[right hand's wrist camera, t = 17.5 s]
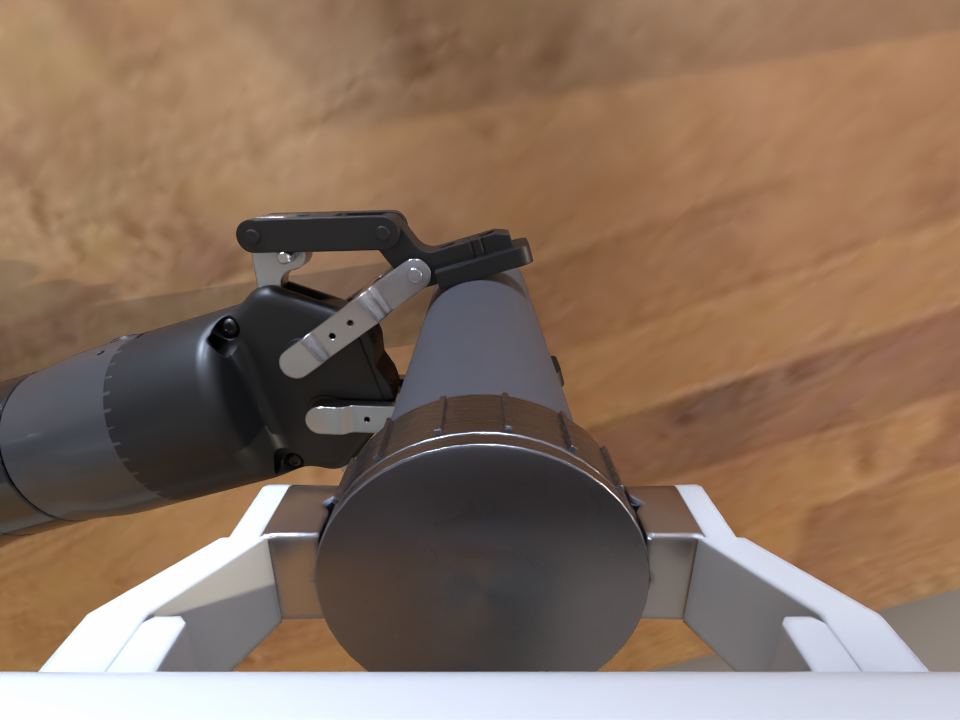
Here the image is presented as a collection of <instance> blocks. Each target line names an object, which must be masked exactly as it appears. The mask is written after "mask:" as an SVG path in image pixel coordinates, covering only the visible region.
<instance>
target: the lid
mask: <svg viewBox="0 0 960 720" xmlns="http://www.w3.org/2000/svg"><path fill="white" fill-rule="evenodd" d="M623 490H625V489H624V487H623V484H622V482H621V480H620V477H619V475H618V473H617V470H616V468H615V466H614V464H613V461H612V459H611V457H610V454H609V452H608V450H607V448H606V447H605V446H603V447H600V446H599V445H598V443H597V442H596V441H595V440H594V439H593V438H592V437H591V436H590V435H589V434H588V433H587V432H586V431H585V430H584V429H582V428H581V427H580V426H578V425H577V424H575V423H574V422H573V421H571V420H570V419H569V418H567V415H566V413H565V412H564V411H562V410H561V411H560V412H559V413H558V412H556V411H554V410H552V409H550V408H547V407H545V406H542V405H540V404H537V403H535V402H532V401H528V400H524V399H520V398H516V397H510V396H509V395H508V393H505V392H502V395H495V394H471V395H462V396H453V397H449V398H446V395H443V396H440V399H439V400H436V401H433V402H430V403H428V404H425V405H422V406H419V407H417V408H414V409H412V410H411V411H409V412H407V413H405V414H403V415H401V416H399V417H397V418H396V419H395V420H393V421H392V420H391V419H390V418H389V419H388V420H387V421H386V422H385V425H384V427H383V428H382V429H381V430H380V431H379V432H378V433H377V434H376V435H375V436H374V437H372V438H371V439H370V440H369V442H368V443H367V444H366V445H365V447H364V448H363V449H362V450H361V452H360V453H359V454H358V456H357V458H356V459H355V458H353V457H352V458H351V459H350V461H349V463H348V466H347V468H346V470H345V473H344V475H343V477H342V480H341V482H340V484H339V487H338V489H337V491H336V494H335V496H334V498H333V501H332V503H334V504H335V507H334V509H333V512H332V514H331V516H330V519H329V521H328V524H327V526H326V528H325V531H324V534H323V536H322V539H321V541H320V544H319V548H318V553H317V557H316V564H315V583H316V591H317V598H318V601H319V604H320V608H321V611H322V614H323V616H324V618H325V620H326V622H327V625H328V627H329V629H330V630H331V632H332V633H333V635H334V636H335V638H336V639H337V641H338V642H339V644H340V645H341V646H342V647H343V648H344V649H345V650H346V652H347V653H348V654H349V655H350V656H351V657H352V658H353V659H354V660H355V661H357V662H358V663H359V664H360V665H361V666H362V667H363V668H365V669H366V670H368V671H369V672H596V671H597V670H598V669H600V668H601V667H602V666H603V665H604V664H606V663H607V662H608V661H609V660H611V659H612V658H613V656H614V655H615V654H616V653H617V652H618V651H619V650H620V649H621V648H622V647H623V646H624V644H625V643H626V642H627V640H628V639H629V637H630V636H631V635H632V633H633V632H634V630H635V628H636V626H637V624H638V622H639V620H640V618H641V616H642V613H643V610H644V607H645V604H646V601H647V596H648V590H649V584H650V564H649V558H648V552H647V547H646V544H645V541H644V539H643V534H642V532H641V529H640V527H639V525H638V523H637V520H636V513H635V511H634V508H633V506H632V504H630V503H629V502H628V499H627V497H626V495H625V492H624V491H623Z"/></svg>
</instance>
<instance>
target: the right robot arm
mask: <svg viewBox="0 0 960 720" xmlns="http://www.w3.org/2000/svg"><path fill="white" fill-rule="evenodd" d="M338 487H339V486H324V485H267V486H264V487H263V488H262V489H261V490H260V492H259V493H258V495H257V496H256V498H255V499H254V501H253V502H252V504H251V505H250V507H249V508H248V510H247V511H246V513H245V514H244V516H243V517H242V519H241V520H240V522H239V523H238V525H237V526H236V528H235V529H234V531H233V532H232V534H231V535H230V537H229V538H220V539H218V540H216V541H215V542H213V543H211V544H209V545H208V546H206V547H204V548H202V549H201V550H199V551H197V552H195V553H194V554H192V555H190V556H188V557H187V558H185V559H183V560H181V561H180V562H178V563H176V564H174V565H173V566H171V567H169V568H167V569H166V570H164V571H162V572H160V573H159V574H157V575H155V576H153V577H152V578H150V579H148V580H147V581H145V582H143V583H141V584H140V585H138V586H136V587H134V588H133V589H131V590H129V591H127V592H126V593H124V594H122V595H120V596H119V597H117V598H115V599H113V600H112V601H110V602H108V603H106V604H105V605H103V606H101V607H99V608H98V609H96V610H94V611H92V612H91V613H89V614H87V616H86V617H85V618H84V619H83V620H82V621H81V623H80V624H79V625H78V626H77V627H76V628H75V630H74V631H73V632H72V633H71V634H70V635H69V636H68V638H67V639H66V640H65V641H64V642H63V643H62V645H61V646H60V647H59V648H58V649H57V650H56V651H55V653H54V654H53V655H52V656H51V657H50V658H49V660H48V661H47V662H46V663H45V664H44V665H43V667H42V668H41V669H40V670H39V671H38V672H0V720H960V672H930V671H929V670H928V669H927V668H926V667H925V666H924V665H923V663H922V662H921V661H920V660H919V659H918V658H917V657H916V655H915V654H914V653H913V652H912V651H911V650H910V649H909V647H908V646H907V645H906V644H905V643H904V642H903V640H902V639H901V638H900V637H899V636H898V635H897V634H896V633H895V631H894V630H893V629H892V628H891V627H890V626H889V625H888V623H887V622H886V621H885V620H884V619H883V618H882V616H881V615H879V614H878V613H876V612H874V611H872V610H871V609H869V608H867V607H865V606H863V605H862V604H860V603H858V602H856V601H855V600H853V599H851V598H849V597H848V596H846V595H844V594H842V593H841V592H839V591H837V590H835V589H834V588H832V587H830V586H828V585H827V584H825V583H823V582H821V581H820V580H818V579H816V578H814V577H813V576H811V575H809V574H807V573H806V572H804V571H802V570H800V569H799V568H797V567H795V566H793V565H792V564H790V563H788V562H786V561H784V560H783V559H781V558H779V557H777V556H776V555H774V554H772V553H770V552H769V551H767V550H765V549H763V548H762V547H760V546H758V545H756V544H755V543H753V542H751V541H749V540H748V539H746V538H736V536H735V535H734V533H733V532H732V530H731V529H730V527H729V526H728V524H727V523H726V522H725V520H724V519H723V517H722V516H721V514H720V513H719V511H718V510H717V508H716V507H715V506H714V504H713V503H712V501H711V500H710V498H709V497H708V495H707V494H706V493H705V491H704V490H703V488H702V487H701V486H699V485H697V484H694V485H672V486H625V487H624V489H625V490H623V491H624V492H625V495H626V497H627V499H628V502H629V503H630V504H632V506H633V508H634V511H635V513H636V520H637V523H638V525H639V527H640V529H641V532H642V534H643V539H644V541H645V544H646V547H647V552H648V558H649V564H650V584H649V590H648V596H647V601H646V604H645V607H644V610H643V613H642V616H641V618H649V619H684V620H683V622H684V623H685V624H686V625H687V626H688V627H689V628H690V629H691V630H692V631H693V632H695V633H696V634H697V635H698V636H699V637H700V638H701V639H702V640H703V641H704V642H705V643H706V644H707V645H708V646H709V647H710V648H711V649H712V650H713V651H714V652H715V653H716V654H718V655H719V656H720V657H721V658H722V659H723V660H724V661H725V662H726V663H727V664H728V665H729V666H730V667H731V668H732V669H733V670H734V671H735V672H231V671H232V670H233V669H234V668H235V667H236V666H237V665H238V664H239V663H240V662H241V661H242V660H243V659H244V658H245V657H246V656H247V655H248V654H249V653H250V652H251V651H252V650H253V649H255V648H256V647H257V646H258V645H259V644H260V643H261V642H262V641H263V640H264V639H265V638H266V637H267V636H268V635H269V634H270V633H271V632H272V631H273V630H274V629H275V628H276V627H277V626H278V625H279V624H280V623H282V619H315V618H324V616H323V614H322V611H321V608H320V604H319V601H318V598H317V591H316V583H315V564H316V557H317V553H318V548H319V544H320V541H321V539H322V536H323V534H324V531H325V528H326V526H327V524H328V521H329V519H330V516H331V514H332V512H333V509H334V507H335V504H334V503H332V501H333V498H334V496H335V494H336V491H337V489H338Z"/></svg>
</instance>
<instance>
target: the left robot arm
mask: <svg viewBox="0 0 960 720" xmlns="http://www.w3.org/2000/svg"><path fill="white" fill-rule="evenodd" d="M236 236H237V240H238V242H239V244H240V245H241V247H242V248H243V249H245V250H246V251H248V252H251V253H252V258H253V263H254V269H255V274H256V280H257V285H258V288H257V289H256V290H254V291H253V292H252V293H251V294H250V295H249V296H248V297H247V298H246V300H245V301H244V302H243V303H241V304H239V305H236V306H233V307H229V308H226V309H223V310H219V311H216V312H213V313H209V314H206V315H202V316H199V317H196V318H192V319H189V320H186V321H182V322H179V323H176V324H172V325H169V326H166V327H162V328H159V329H156V330H152V331H149V332H146V333H142V334H133V335H128V336H123V337H120V338H116V339H114V340H113V341H111V342H110V343H109V344H106V345H102V346H99V347H96V348H93V349H90V350H87V351H84V352H82V353H79V354H76V355H74V356H72V357H69V358H67V359H65V360H63V361H61V362H59V363H57V364H55V365H53V366H51V367H49V368H46V369H43V370H40V371H37V372H33V373H30V374H27V375H23V376H20V377H17V378H13V379H10V380H6V381H3V382H0V548H2V547H3V546H5V545H7V544H9V543H11V542H13V541H15V540H18V539H20V538H24V537H27V536H30V535H34V534H37V533H41V532H45V531H49V530H53V529H56V528H60V527H64V526H68V525H72V524H75V523H79V522H83V521H87V520H90V519H95V518H102V517H111V516H121V515H129V514H134V513H139V512H144V511H148V510H152V509H156V508H160V507H163V506H167V505H171V504H175V503H179V502H182V501H186V500H190V499H194V498H198V497H202V496H206V495H209V494H213V493H217V492H221V491H225V490H229V489H233V488H237V487H240V486H244V485H248V484H252V483H256V482H260V481H263V480H267V479H271V478H275V477H278V476H281V475H283V474H286V473H288V472H291V471H293V470H295V469H298V468H301V467H305V466H318V467H324V468H329V469H336V468H341V470H342V471H343V472H344V473H345V470H346V468H347V466H348V463H349V461H350V459H351V458H352V457H353V458H355V459H356V458H357V456H358V454H359V453H360V452H361V450H362V449H363V447H364V446H365V445H366V444H367V442H368V441H369V440H370V438H371V437H372V436H373V435H374V433H378V432H379V431H380V430H381V429H382V428H383V427H384V425H385V422H386V421H387V420H388V419H389V418H390V419H391V417H392V414H393V411H394V408H395V405H396V402H397V399H398V396H399V393H400V390H401V387H402V385H403V382H404V379H405V376H406V375H399V374H398V372H397V369H396V366H395V364H394V363H393V361H392V360H391V358H390V357H389V356H388V354H387V353H386V351H385V350H384V343H383V332H382V329H381V327H380V324H379V322H380V321H381V320H382V319H384V318H385V317H386V316H387V315H388V314H389V313H390V312H391V311H393V310H394V309H395V308H397V307H398V306H400V305H401V304H402V303H404V302H405V301H407V300H408V299H409V298H411V297H412V296H414V295H415V294H416V293H418V292H419V291H421V290H422V289H423V288H425V287H428V286H431V285H435V284H438V285H439V288H440V290H442V289H445V288H449V287H452V286H455V285H459V284H462V283H465V282H469V281H473V280H476V279H479V278H483V277H486V276H490V275H493V274H497V273H500V272H503V271H507V270H510V269H514V268H517V267H521V266H524V265H527V264H529V263H531V262H532V261H533V258H532V254H531V250H530V246H529V243H528V241H527V239H526V238H519V239H515V240H511V237H510V234H509V231H508V230H503V229H492V230H489V231H485V232H482V233H479V234H475V235H472V236H469V237H465V238H462V239H459V240H455V241H452V242H449V243H445V244H442V245H438V246H429V245H426V244H424V243H422V242H421V241H420V240H419V239H418V238H417V237H416V235H415V234H414V233H413V232H412V230H411V229H410V228H409V226H408V223H407V220H406V218H405V216H404V215H403V214H402V213H400V212H399V211H396V210H373V211H335V212H297V213H271V214H268V215H263V216H260V217H256V218H252V219H249V220H246V221H243V222H242V223H241V224H240V225H239V226H238V228H237V231H236ZM359 250H379V251H380V252H381V253H382V254H383V256H384V257H385V258H386V259H387V261H388V262H389V263H390V264H391V266H392V267H390V268H389V269H388V270H386V271H385V272H383V273H382V274H380V275H378V276H377V277H375V278H374V279H373V280H371V281H370V282H369V283H367V284H366V285H365V286H363V287H362V288H360V289H359V290H358V291H356V292H355V293H354V294H352V295H351V296H350V297H348V298H347V299H346V300H343V299H341V298H338V297H335V296H332V295H329V294H326V293H323V292H320V291H317V290H314V289H311V288H308V287H305V286H302V285H299V284H296V283H293V282H290V281H288V276H289V273H290V271H291V270H295V269H298V268H300V267H301V266H303V265H305V264H306V263H308V262H309V261H310V259H311V257H312V252H320V251H359ZM551 359H552V362H553V365H554V367H555V370H556V373H557V376H558V379H559V381H560V384H561V387H562V386H563V385H564V381H563V377H562V373H561V369H560V366H559V363H558V361H557V358H556V357H555V356H551Z"/></svg>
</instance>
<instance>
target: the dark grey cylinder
mask: <svg viewBox="0 0 960 720" xmlns="http://www.w3.org/2000/svg"><path fill="white" fill-rule="evenodd" d="M502 392H505V393H508V395H509V396H510V397H516V398H520V399H524V400H528V401H532V402H535V403H537V404H540V405H542V406H545V407H547V408H550V409H552V410H554V411H556V412H558V413H559V412H560V411H561V410H562V411H564V412H565V413H566V415H567V418H569V419H570V420H571V421H573V418H572V415H571V413H570V410H569V407H568V404H567V401H566V398H565V396H564V393H563V390H562V387H561V384H560V381H559V379H558V376H557V373H556V370H555V367H554V365H553V362H552V359H551V356H550V353H549V350H548V348H547V345H546V342H545V339H544V336H543V333H542V331H541V328H540V325H539V322H538V319H537V317H536V314H535V311H534V308H533V305H532V302H531V300H530V297H529V294H528V291H527V288H526V285H525V283H524V280H523V277H522V275H521V273H520V271H519V269H518V268H514V269H510V270H507V271H503V272H500V273H497V274H493V275H490V276H486V277H483V278H479V279H476V280H473V281H469V282H465V283H462V284H459V285H455V286H452V287H449V288H445V289H442V290H440V288H439V285H438V284H437V285H436V288H435V291H434V294H433V297H432V300H431V303H430V305H429V308H428V311H427V314H426V317H425V320H424V323H423V326H422V329H421V332H420V335H419V338H418V341H417V344H416V346H415V349H414V352H413V355H412V358H411V361H410V364H409V367H408V370H407V373H406V376H405V379H404V382H403V385H402V387H401V390H400V393H399V396H398V399H397V402H396V405H395V408H394V411H393V414H392V417H391V420H392V421H393V420H395V419H396V418H397V417H399V416H401V415H403V414H405V413H407V412H409V411H411V410H412V409H414V408H417V407H419V406H422V405H425V404H428V403H430V402H433V401H436V400H439V399H440V396H443V395H446V398H449V397H453V396H462V395H471V394H495V395H502ZM573 422H574V421H573Z"/></svg>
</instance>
